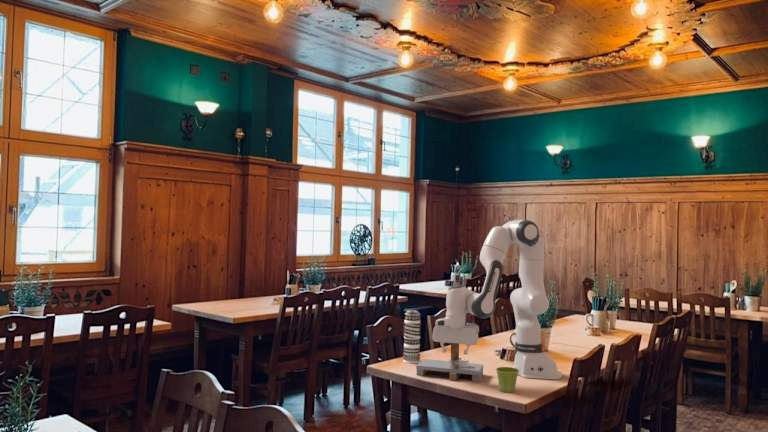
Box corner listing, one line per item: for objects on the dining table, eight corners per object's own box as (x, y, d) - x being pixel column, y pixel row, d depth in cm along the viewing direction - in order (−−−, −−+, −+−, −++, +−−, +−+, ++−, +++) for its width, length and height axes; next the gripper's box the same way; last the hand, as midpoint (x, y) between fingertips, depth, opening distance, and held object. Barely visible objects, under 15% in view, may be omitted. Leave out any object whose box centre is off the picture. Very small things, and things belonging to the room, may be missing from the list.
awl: (459, 367, 254) (459, 342, 255) (458, 369, 251) (458, 343, 251) (451, 366, 255) (451, 342, 256) (449, 368, 252) (450, 343, 252)
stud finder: (468, 365, 258) (468, 358, 258) (467, 367, 254) (467, 360, 255) (451, 363, 261) (451, 356, 261) (449, 365, 257) (449, 358, 257)
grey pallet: (483, 373, 263) (483, 363, 263) (477, 383, 246) (478, 372, 246) (424, 367, 272) (424, 357, 272) (414, 376, 254) (415, 366, 255)
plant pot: (514, 395, 229) (514, 373, 229) (492, 391, 234) (492, 370, 234) (521, 390, 237) (522, 369, 237) (500, 386, 242) (500, 365, 242)
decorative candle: (407, 364, 277) (408, 312, 278) (399, 359, 286) (400, 309, 286) (424, 362, 281) (425, 311, 281) (415, 358, 290) (416, 309, 290)
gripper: (480, 322, 253) (479, 353, 253) (435, 319, 260) (434, 349, 259) (478, 324, 247) (477, 356, 247) (431, 321, 254) (431, 352, 253)
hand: (454, 353), depth 253 cm, fingers open, 8 cm apart
